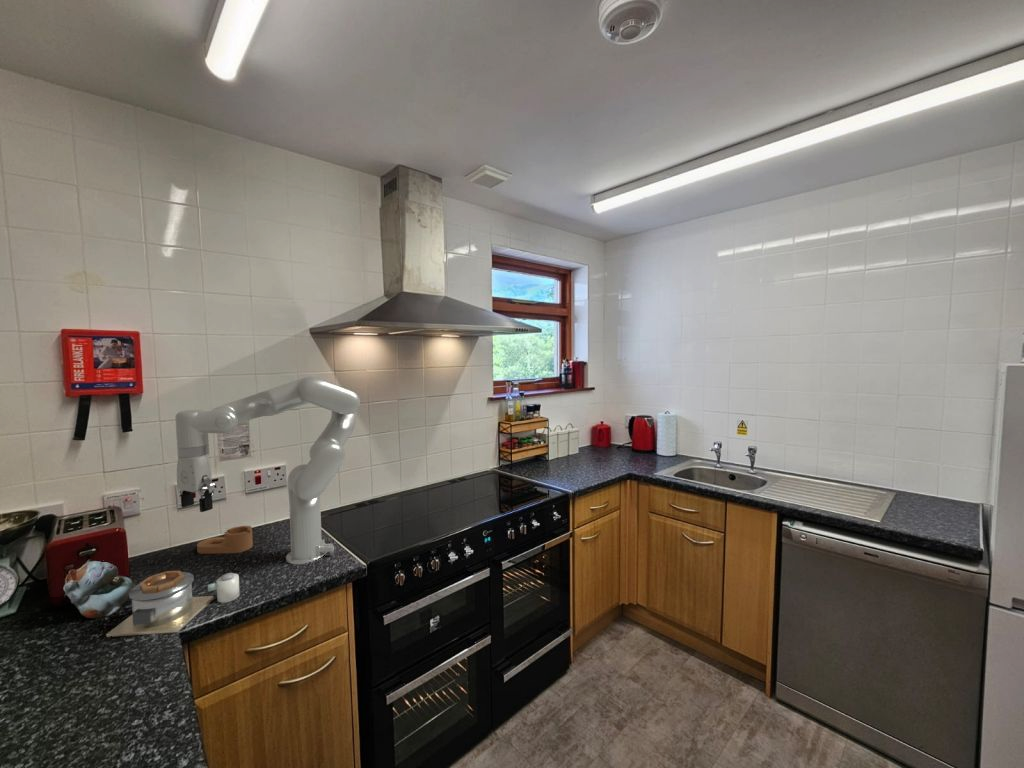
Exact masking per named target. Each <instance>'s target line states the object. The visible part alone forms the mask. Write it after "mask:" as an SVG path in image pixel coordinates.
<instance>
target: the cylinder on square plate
mask: <svg viewBox="0 0 1024 768" xmlns="http://www.w3.org/2000/svg"><path fill="white" fill-rule="evenodd" d="M194 577H195V576H194V574H193V573H191V572H186V571H181V570H170V571H169V570H167V571H164V572H160V573H157V574H153V575H149V576H148V577H146V579H144V580H143V581H141V582H140V583H138V584H137V585H134V587H133V588H132V589H131V590H130V592H129V598H130V599H129V600H131V605H132V606H131V608H132V609H131V610H132V614H131V615H130V616H128V617H127V618H126V619H124V620H123V621H122V622H120V623H119V624H118V625H116V626H115V627H114V628H112V629H111V630H110V631H108V632H106V633H105V636H106V638H109V637H111V636H112V637H124V636H127V637H128V636H139V635H141V636H143V635H154V634H170V633H171V634H172V633H179V631H180V630H182V629H183V628H184V627H185V626H186V625H187V624H188V623H189V622H190V621H192V620H193V618H195V617H196V616H197V615H198V614H199V613H200V612H202V611H203V609H205V608H206V606H208V605H209V604H210V603H211V602H212V601H213V600H214V599H215V596H214V595H208V596H207V595H204V596H193V586H192V585H193V584H192V583H193V582H194ZM112 637H111V638H112Z"/></svg>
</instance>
